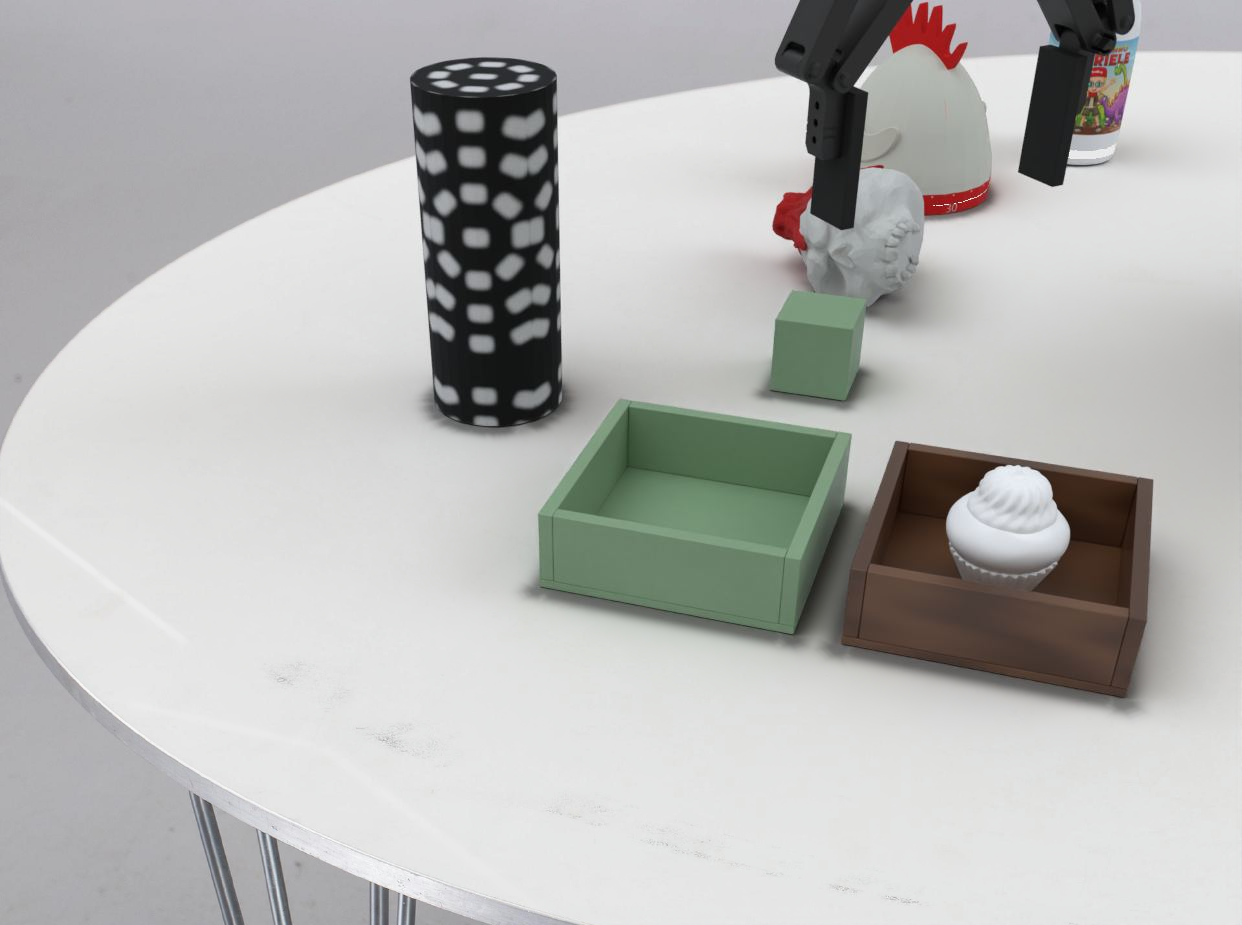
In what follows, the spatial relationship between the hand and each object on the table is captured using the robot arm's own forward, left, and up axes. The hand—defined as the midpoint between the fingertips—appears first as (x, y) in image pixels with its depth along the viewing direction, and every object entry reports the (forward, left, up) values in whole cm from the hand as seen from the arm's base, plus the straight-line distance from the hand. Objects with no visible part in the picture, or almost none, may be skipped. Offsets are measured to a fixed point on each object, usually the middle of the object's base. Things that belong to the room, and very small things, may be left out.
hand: (939, 199), depth 74 cm
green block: (+7, -12, -17) cm, 22 cm away
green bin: (+9, +10, -17) cm, 22 cm away
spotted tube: (+26, -3, -17) cm, 31 cm away
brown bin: (-7, +10, -17) cm, 21 cm away
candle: (+8, -29, -17) cm, 34 cm away
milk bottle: (-6, -66, -17) cm, 68 cm away
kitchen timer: (+7, -52, -17) cm, 55 cm away
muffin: (-7, +10, -16) cm, 20 cm away
